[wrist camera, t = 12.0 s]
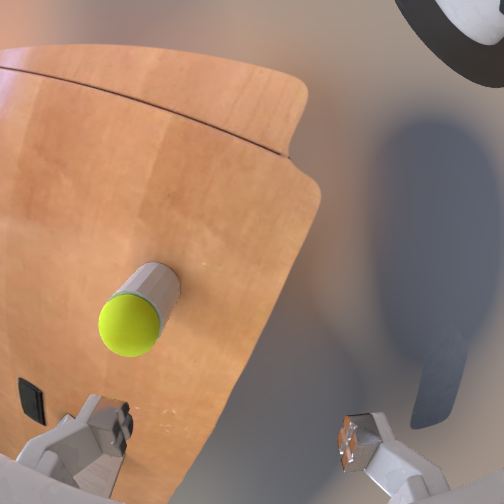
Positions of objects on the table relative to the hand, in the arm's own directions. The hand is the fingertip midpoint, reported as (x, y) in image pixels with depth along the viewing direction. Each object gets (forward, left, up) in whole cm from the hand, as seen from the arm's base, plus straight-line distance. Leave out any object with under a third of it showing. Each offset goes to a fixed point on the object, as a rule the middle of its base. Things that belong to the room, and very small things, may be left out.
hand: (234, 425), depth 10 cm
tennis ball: (+8, -12, -19) cm, 24 cm away
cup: (+8, -12, -29) cm, 32 cm away
